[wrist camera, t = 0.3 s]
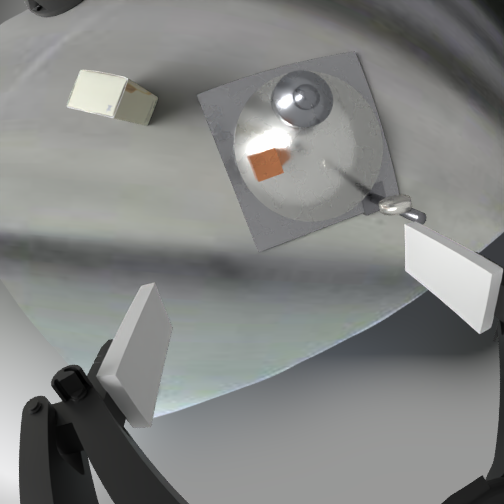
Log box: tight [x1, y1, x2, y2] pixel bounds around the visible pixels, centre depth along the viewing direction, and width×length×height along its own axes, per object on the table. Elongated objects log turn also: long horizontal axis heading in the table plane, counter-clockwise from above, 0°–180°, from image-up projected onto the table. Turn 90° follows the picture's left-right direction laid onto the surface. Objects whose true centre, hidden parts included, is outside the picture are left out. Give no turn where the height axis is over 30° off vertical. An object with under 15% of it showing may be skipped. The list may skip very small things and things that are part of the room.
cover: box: [271, 70, 333, 128], centre depth 31 cm, size 7×7×4 cm
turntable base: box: [197, 52, 399, 252], centre depth 37 cm, size 23×23×1 cm
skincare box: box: [67, 70, 158, 126], centre depth 28 cm, size 6×4×12 cm
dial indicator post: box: [362, 181, 426, 224], centre depth 35 cm, size 4×6×13 cm
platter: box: [234, 71, 383, 222], centre depth 34 cm, size 20×20×5 cm
